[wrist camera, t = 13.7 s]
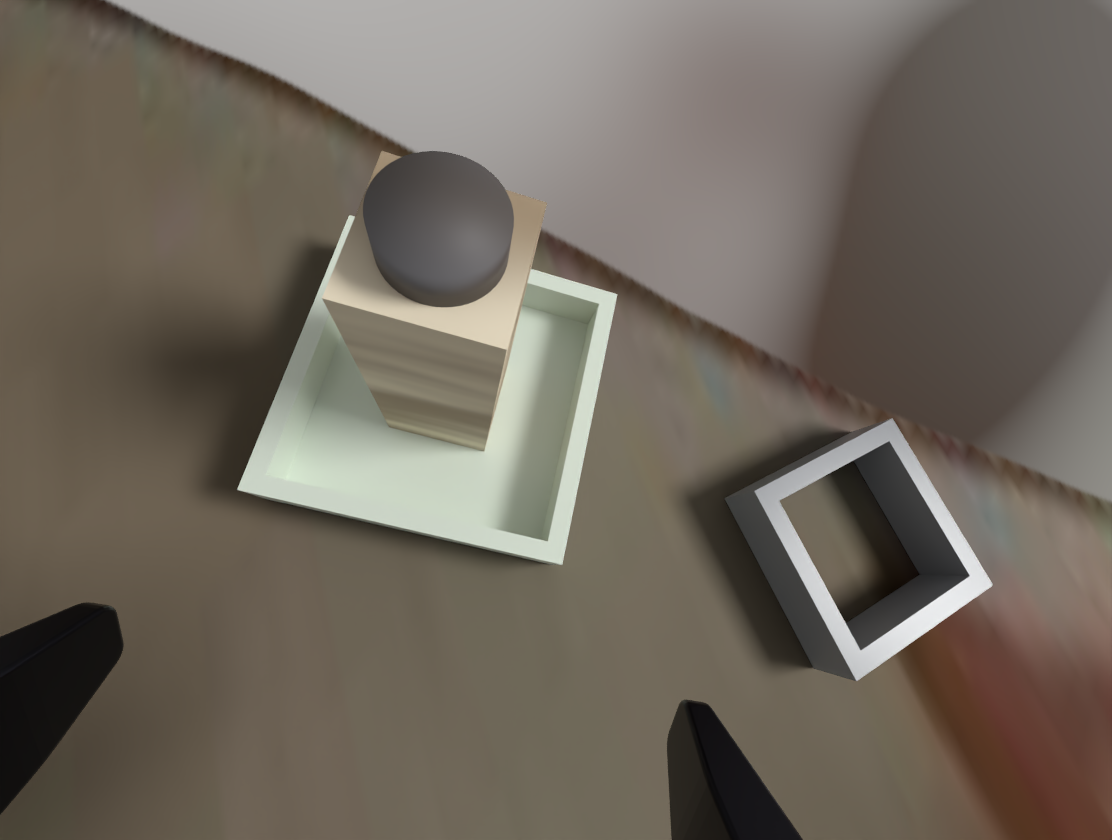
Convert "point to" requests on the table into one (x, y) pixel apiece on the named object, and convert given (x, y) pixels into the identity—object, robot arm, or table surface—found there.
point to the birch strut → (435, 291)
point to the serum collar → (917, 524)
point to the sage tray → (437, 466)
